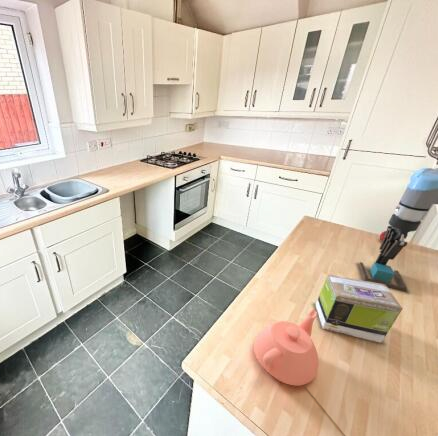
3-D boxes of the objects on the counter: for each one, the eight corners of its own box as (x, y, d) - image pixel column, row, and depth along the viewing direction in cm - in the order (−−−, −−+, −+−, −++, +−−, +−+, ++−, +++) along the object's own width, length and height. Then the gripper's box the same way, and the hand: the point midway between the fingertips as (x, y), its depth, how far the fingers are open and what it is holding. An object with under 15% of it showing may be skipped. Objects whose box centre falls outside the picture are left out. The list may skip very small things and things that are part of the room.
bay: (357, 265, 101) (359, 262, 100) (395, 274, 96) (398, 271, 95) (363, 282, 93) (365, 278, 92) (405, 293, 87) (407, 289, 86)
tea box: (366, 317, 79) (387, 283, 72) (380, 344, 70) (405, 309, 63) (313, 305, 83) (328, 272, 76) (321, 330, 75) (337, 295, 68)
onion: (381, 246, 112) (389, 231, 109) (374, 239, 117) (381, 225, 114) (396, 248, 111) (404, 233, 107) (388, 241, 116) (396, 226, 112)
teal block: (368, 272, 97) (374, 262, 95) (384, 276, 95) (390, 266, 93) (371, 279, 94) (377, 270, 91) (388, 284, 91) (394, 274, 89)
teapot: (280, 321, 78) (290, 293, 72) (332, 359, 67) (348, 330, 61) (235, 358, 68) (242, 329, 62) (287, 410, 57) (302, 381, 51)
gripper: (388, 207, 92) (362, 257, 103) (398, 222, 82) (369, 275, 94) (414, 211, 89) (385, 262, 100) (429, 228, 79) (394, 282, 90)
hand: (377, 268), depth 97 cm, fingers closed
